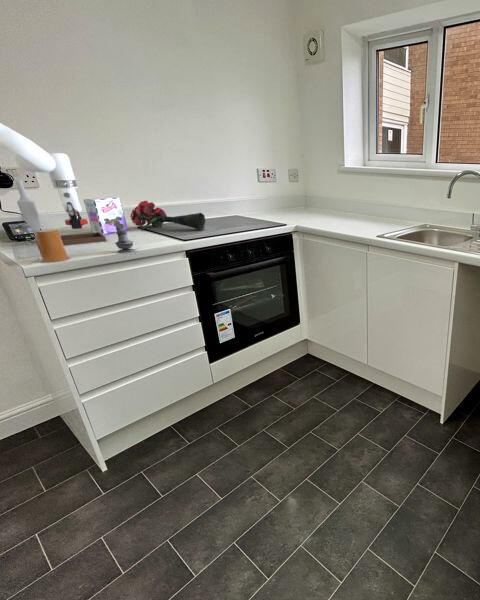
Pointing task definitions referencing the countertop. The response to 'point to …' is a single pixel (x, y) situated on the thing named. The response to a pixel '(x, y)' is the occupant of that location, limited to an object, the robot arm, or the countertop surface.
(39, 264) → the countertop surface
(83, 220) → the lid
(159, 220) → the carnation
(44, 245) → the jar
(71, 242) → the tray
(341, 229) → the countertop surface
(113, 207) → the candy box
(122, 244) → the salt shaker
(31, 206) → the bottle
